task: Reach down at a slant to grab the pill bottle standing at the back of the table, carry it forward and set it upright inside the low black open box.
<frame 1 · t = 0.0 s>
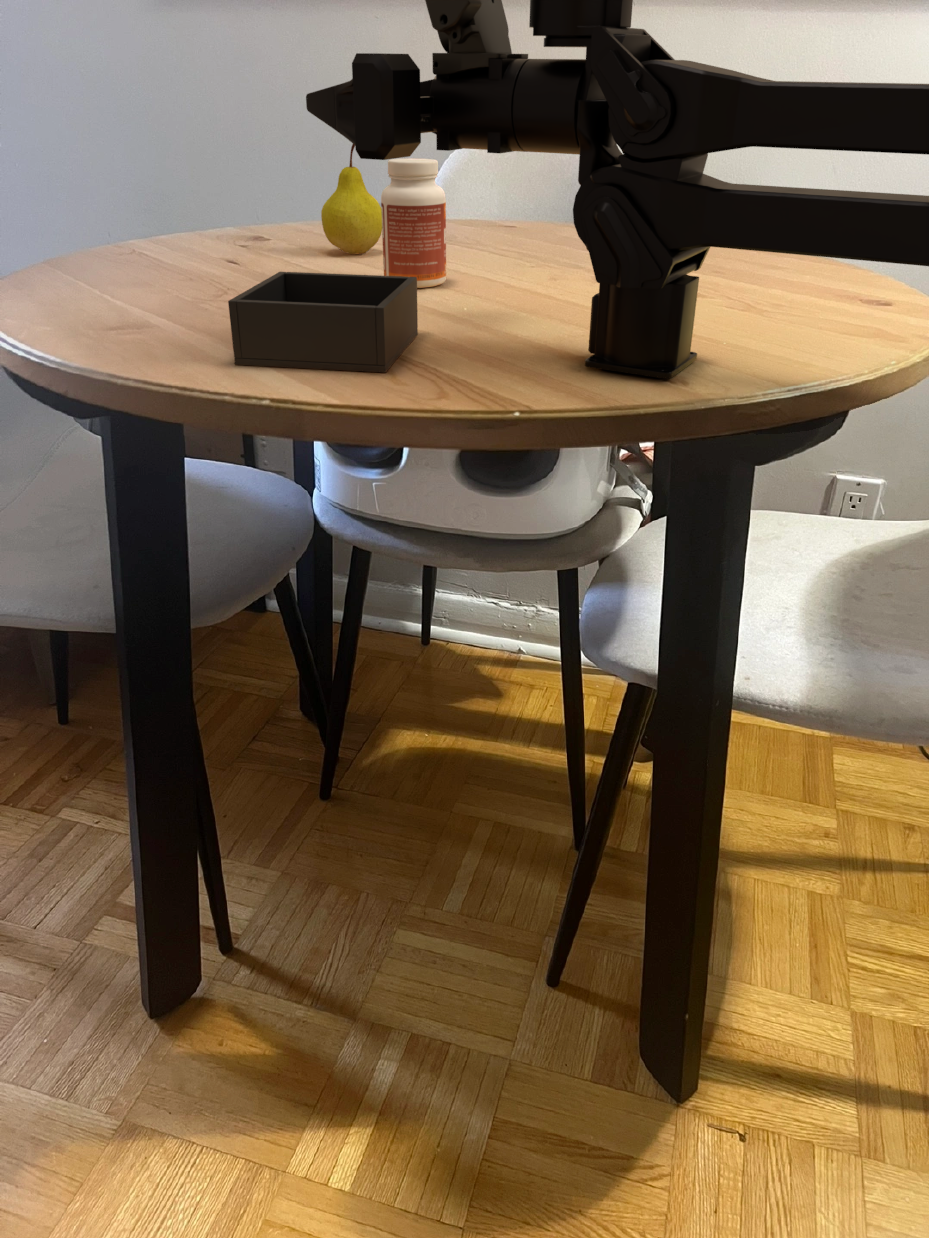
hand: (344, 100, 75), 17 cm above the table, tool horizontal, fingers open, 9 cm apart
fruit: (354, 255, 113), on the table
pill bottle: (415, 285, 98), on the table
black open box: (331, 349, 76), on the table
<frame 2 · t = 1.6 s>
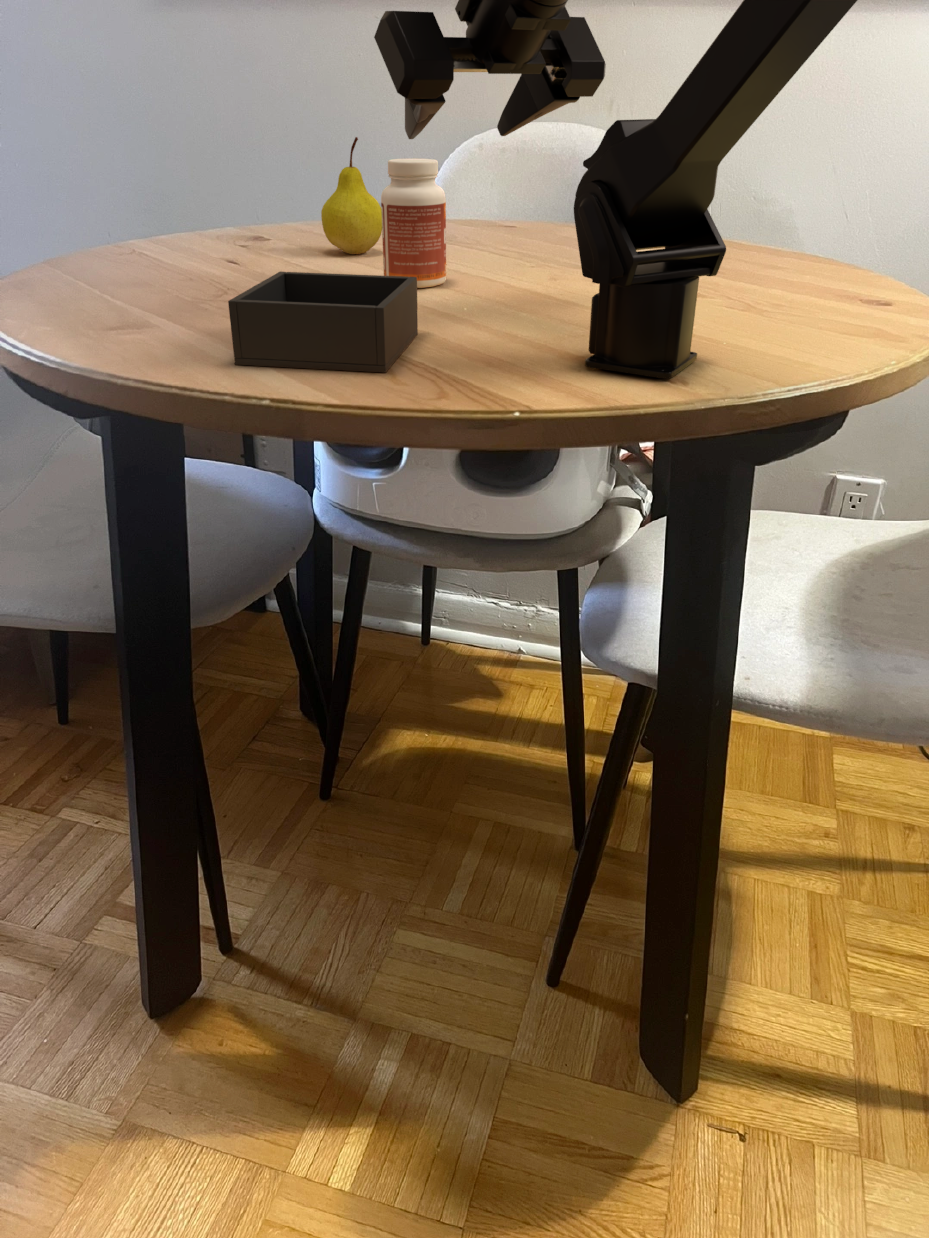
hand: (455, 133, 85), 14 cm above the table, tool tilted 45°, fingers open, 9 cm apart
nothing on the table moved.
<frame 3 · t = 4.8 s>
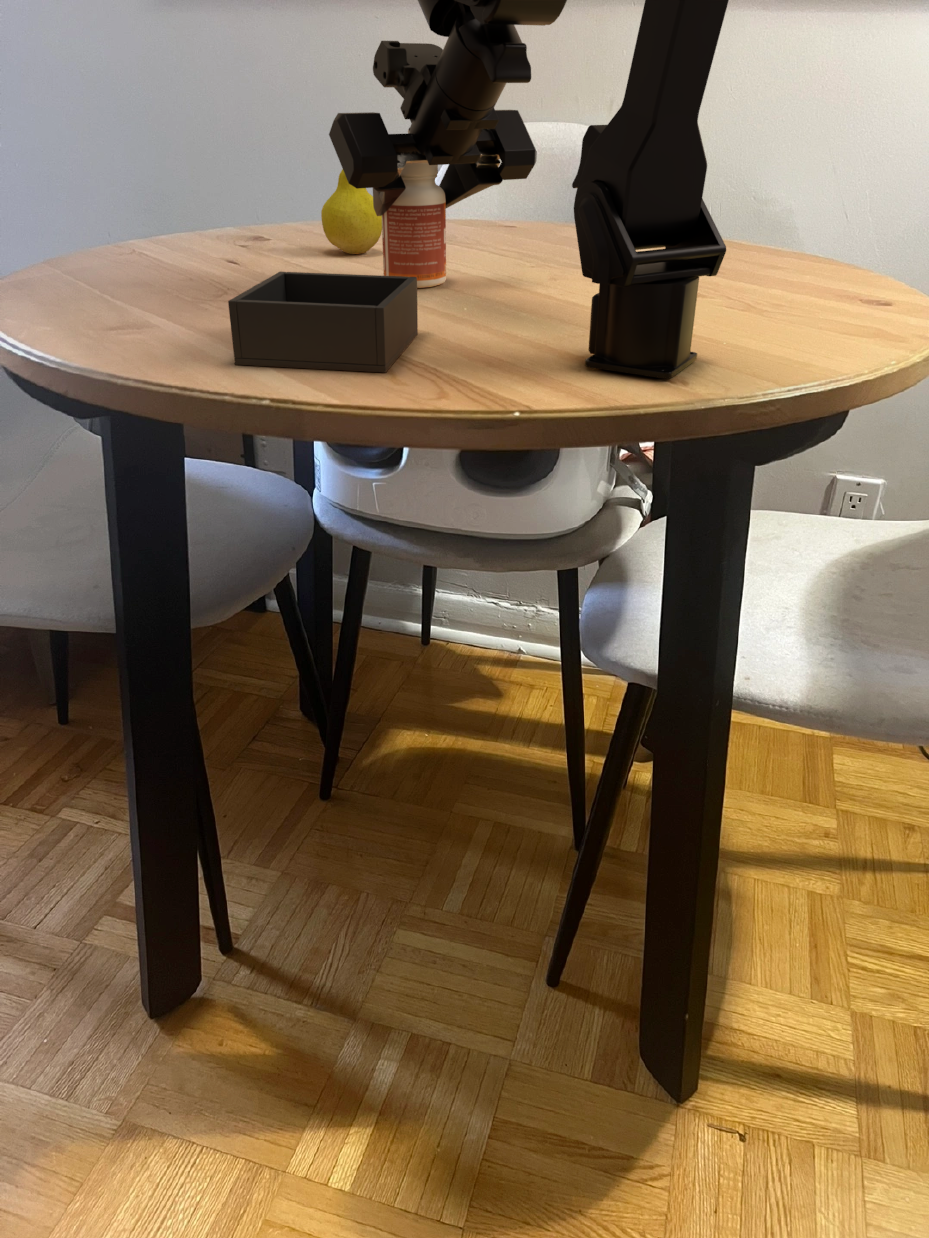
hand: (407, 210, 96), 7 cm above the table, tool tilted 45°, fingers closed on pill bottle, 6 cm apart
pill bottle: (415, 285, 98), on the table, touching gripper
everything else where it was.
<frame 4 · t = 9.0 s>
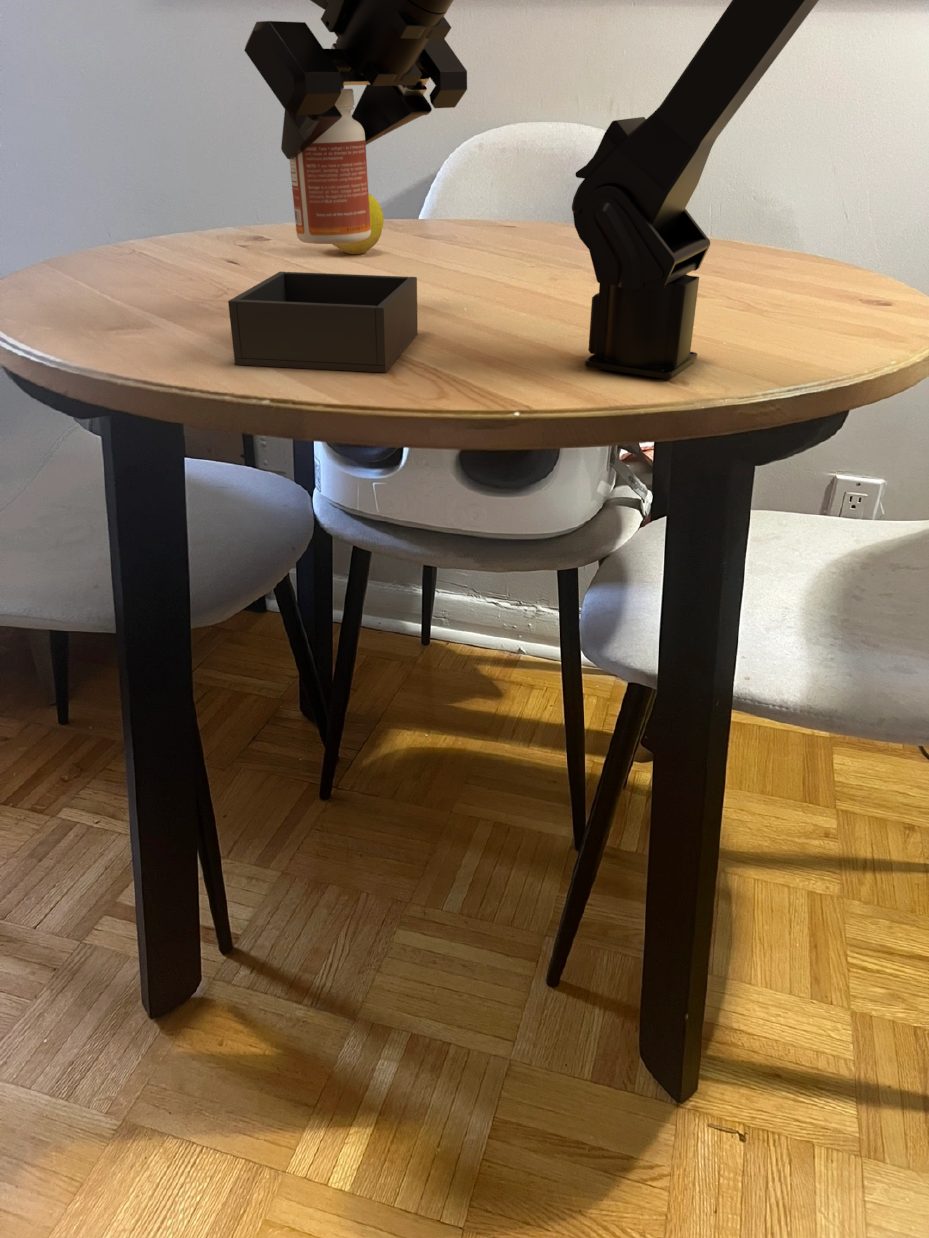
hand: (316, 152, 80), 13 cm above the table, tool tilted 45°, fingers closed on pill bottle, 6 cm apart
pill bottle: (334, 242, 82), point 6 cm above the table, touching gripper
everything else where it was.
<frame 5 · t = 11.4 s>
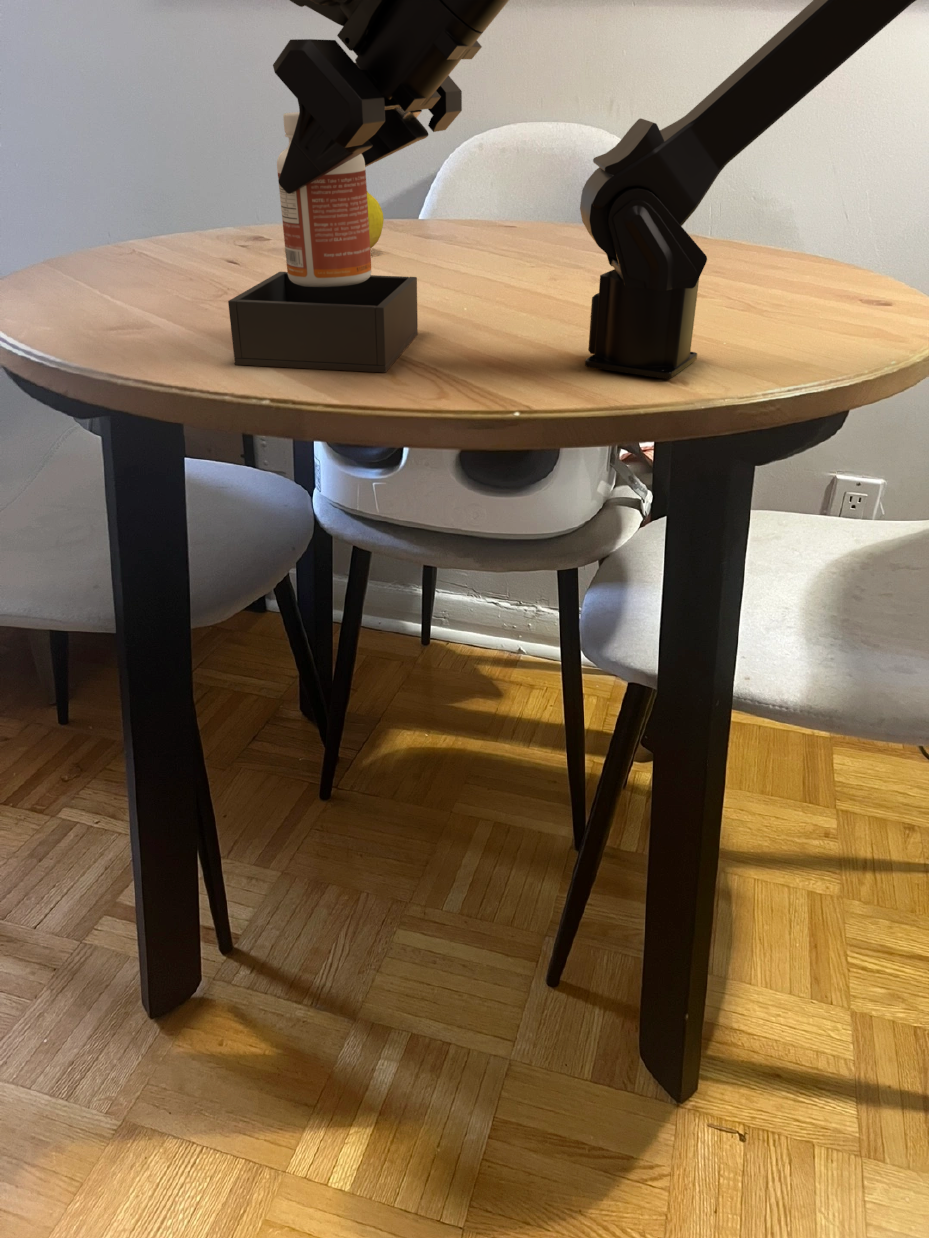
hand: (305, 183, 70), 12 cm above the table, tool tilted 45°, fingers closed on pill bottle, 6 cm apart
pill bottle: (329, 283, 73), point 5 cm above the table, touching gripper
everything else where it was.
when the fingers open (7 cm above the table, at t = 13.2 s): pill bottle stays where it is, resting on black open box.
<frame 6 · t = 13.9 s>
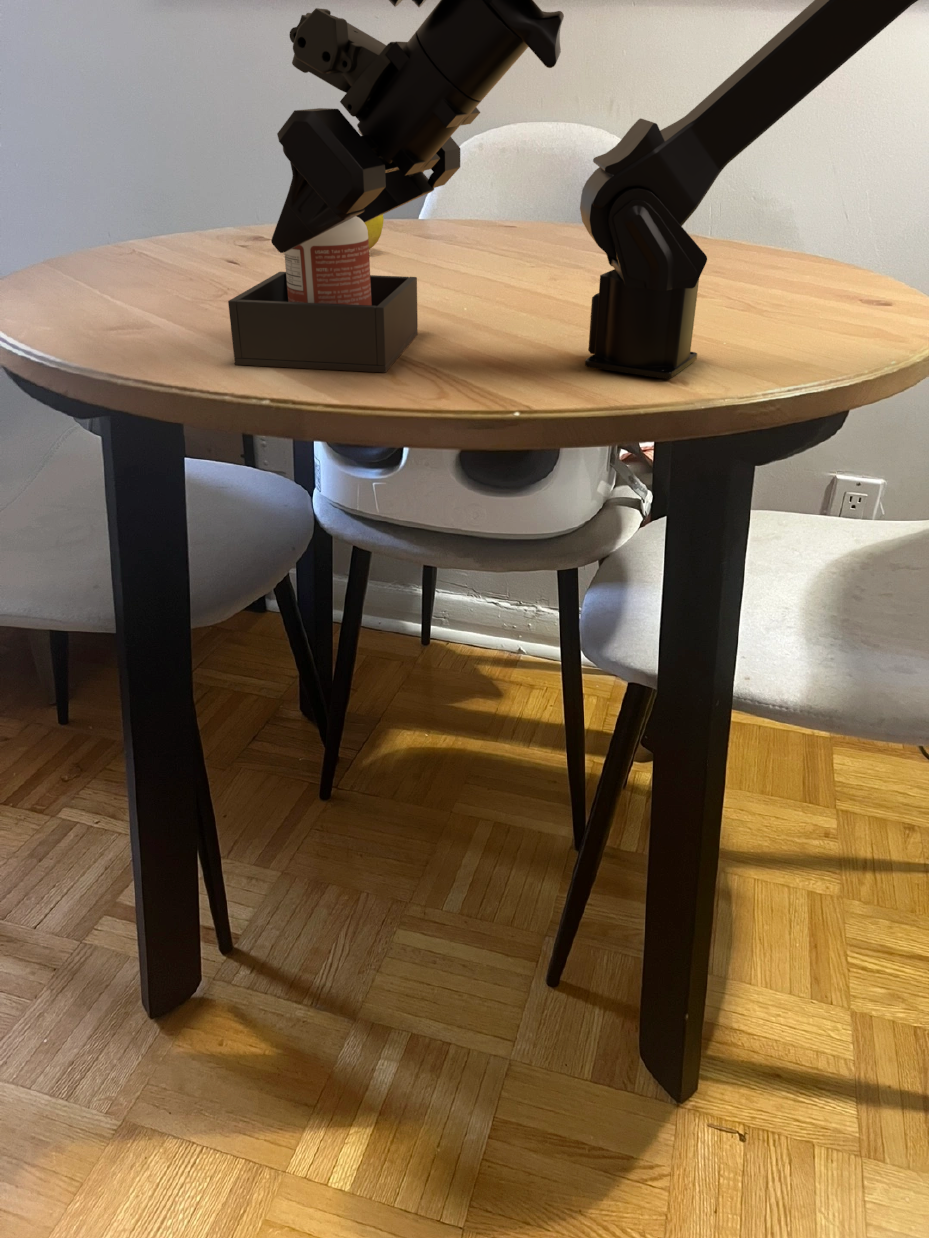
hand: (307, 238, 72), 8 cm above the table, tool tilted 45°, fingers open, 9 cm apart
pill bottle: (332, 345, 75), resting on black open box
everything else where it was.
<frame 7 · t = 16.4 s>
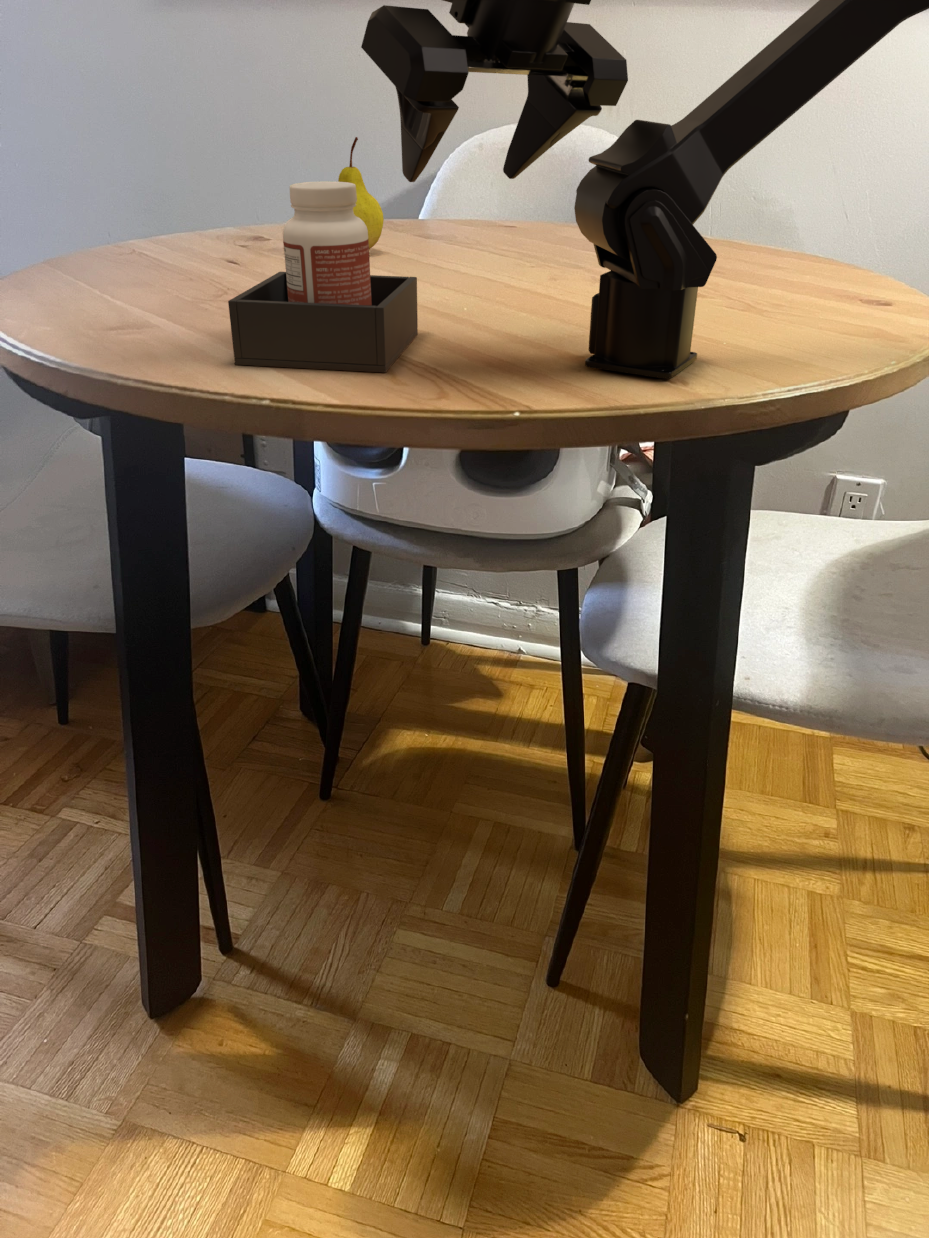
hand: (459, 177, 71), 12 cm above the table, tool tilted 30°, fingers open, 9 cm apart
nothing on the table moved.
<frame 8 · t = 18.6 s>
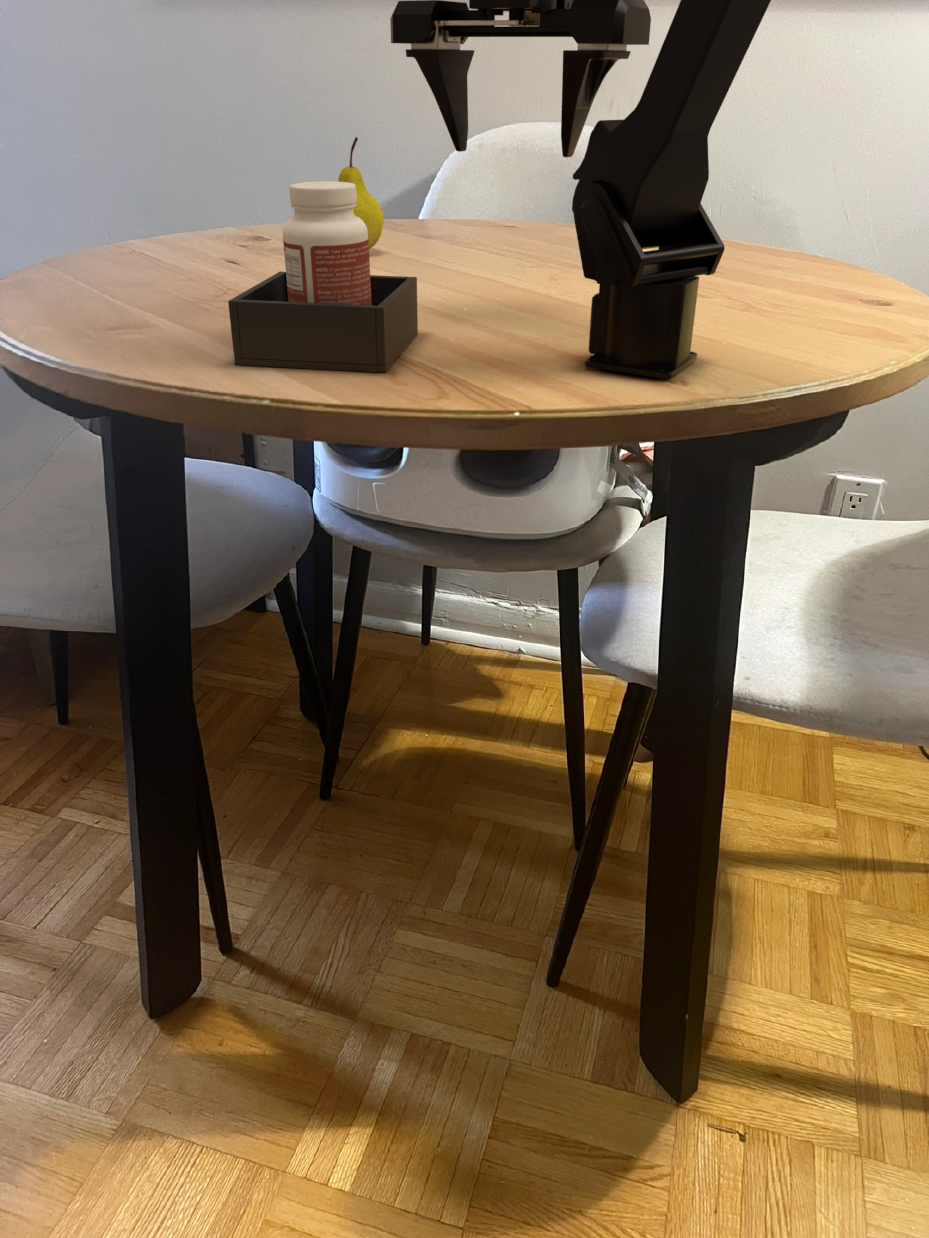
hand: (513, 154, 76), 13 cm above the table, tool pointing down, fingers open, 9 cm apart
nothing on the table moved.
at the end: pill bottle inside the target area in the black open box (0.1 cm from its centre), point 0.3 cm above the black open box's base; the gripper is holding nothing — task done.
